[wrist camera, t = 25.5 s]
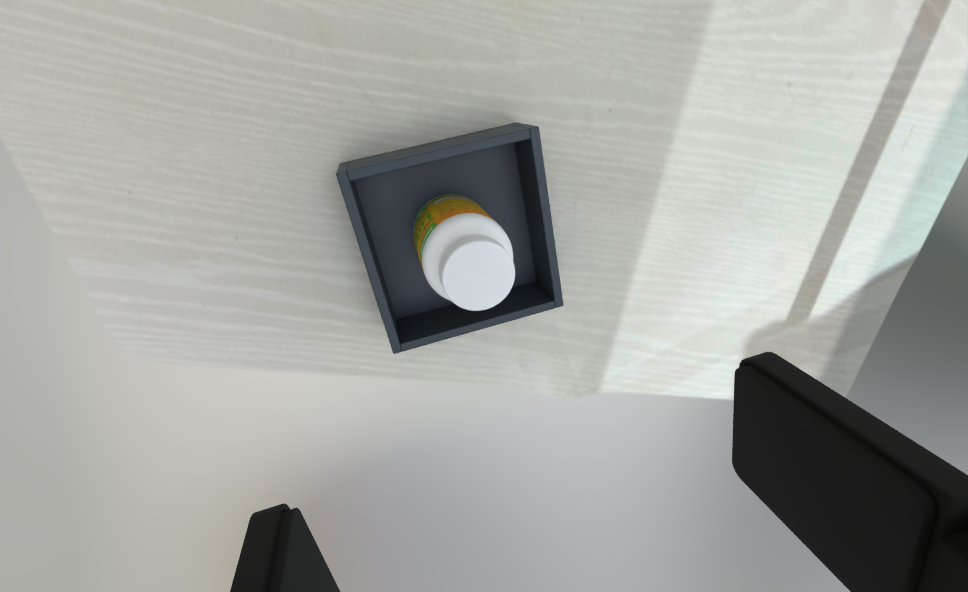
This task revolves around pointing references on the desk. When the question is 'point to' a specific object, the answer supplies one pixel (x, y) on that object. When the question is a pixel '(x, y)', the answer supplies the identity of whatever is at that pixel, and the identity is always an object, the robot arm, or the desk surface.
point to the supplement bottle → (463, 252)
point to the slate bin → (465, 171)
